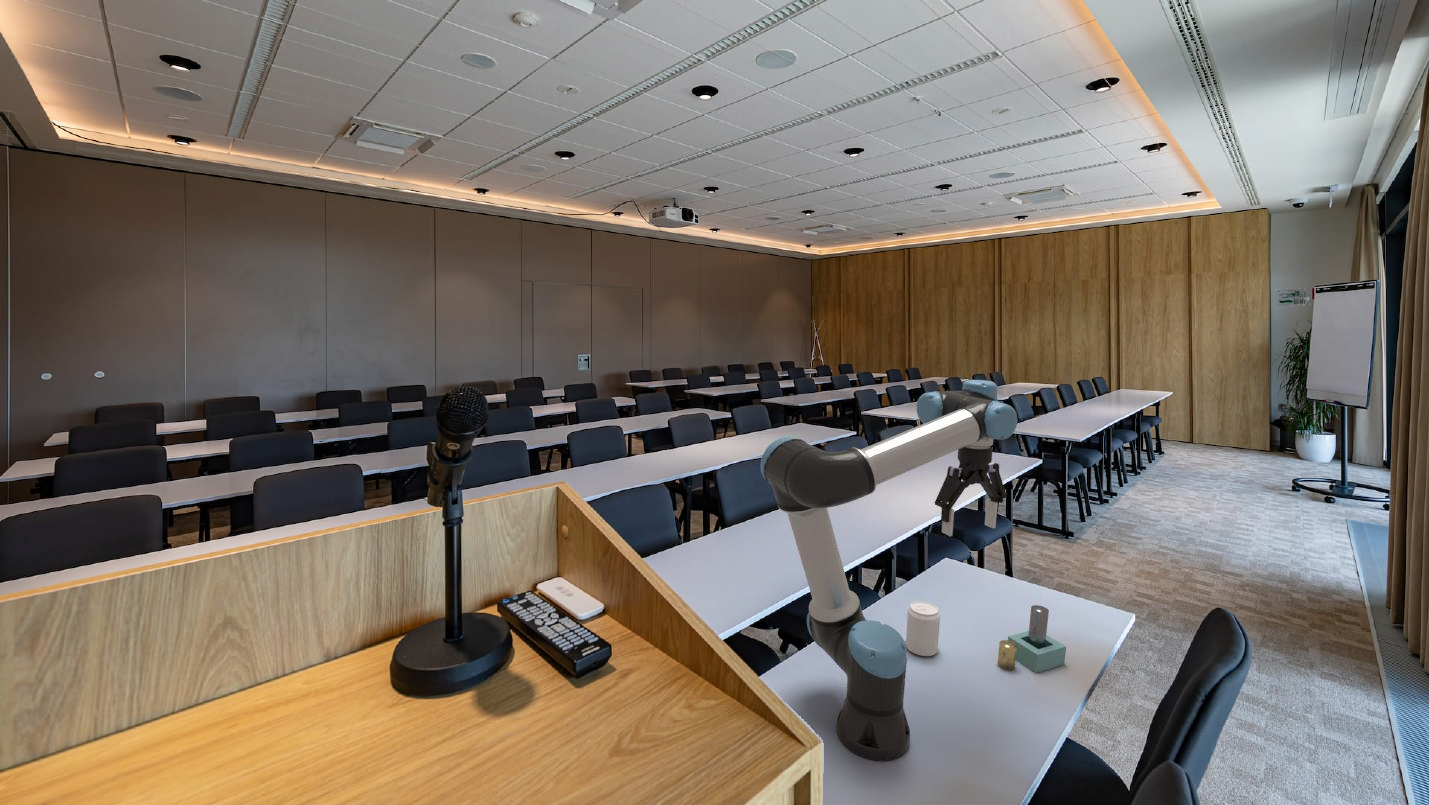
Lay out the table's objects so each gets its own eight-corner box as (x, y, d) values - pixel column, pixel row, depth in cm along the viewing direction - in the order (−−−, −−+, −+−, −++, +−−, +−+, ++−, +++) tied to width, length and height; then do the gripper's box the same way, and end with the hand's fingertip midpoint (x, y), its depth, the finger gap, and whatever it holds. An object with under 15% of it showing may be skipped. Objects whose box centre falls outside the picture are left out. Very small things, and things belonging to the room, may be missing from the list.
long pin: (1035, 665, 155) (1041, 614, 153) (1022, 656, 159) (1027, 607, 157) (1047, 661, 157) (1052, 611, 154) (1033, 653, 160) (1038, 604, 158)
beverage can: (939, 660, 157) (942, 617, 155) (907, 656, 159) (909, 613, 157) (935, 643, 165) (937, 601, 163) (904, 639, 167) (906, 598, 165)
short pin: (1006, 672, 152) (1008, 650, 151) (993, 663, 156) (995, 642, 155) (1018, 668, 154) (1020, 647, 153) (1005, 660, 157) (1007, 638, 156)
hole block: (1035, 673, 152) (1037, 654, 151) (1006, 653, 160) (1008, 636, 159) (1064, 664, 156) (1066, 646, 155) (1034, 646, 164) (1035, 628, 163)
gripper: (945, 453, 136) (939, 543, 140) (1027, 444, 145) (1019, 528, 149) (922, 446, 143) (917, 531, 147) (1002, 437, 152) (995, 518, 156)
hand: (968, 530), depth 148 cm, fingers open, 13 cm apart
